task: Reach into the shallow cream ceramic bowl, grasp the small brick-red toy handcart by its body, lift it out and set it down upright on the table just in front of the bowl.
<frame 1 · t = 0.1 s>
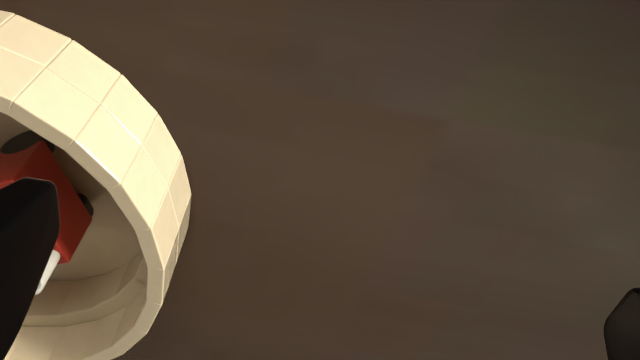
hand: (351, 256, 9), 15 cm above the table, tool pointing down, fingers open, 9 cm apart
bowl: (17, 170, 27), on the table
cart: (11, 177, 26), point 1 cm above the table, touching bowl
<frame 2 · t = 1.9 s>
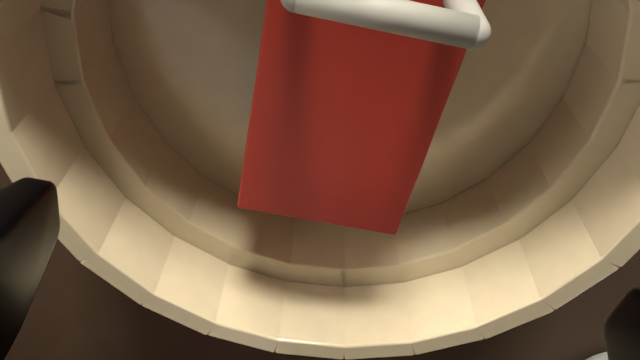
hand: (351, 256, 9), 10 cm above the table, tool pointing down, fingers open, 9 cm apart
bowl: (345, 34, 17), on the table
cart: (345, 42, 16), point 1 cm above the table, touching bowl
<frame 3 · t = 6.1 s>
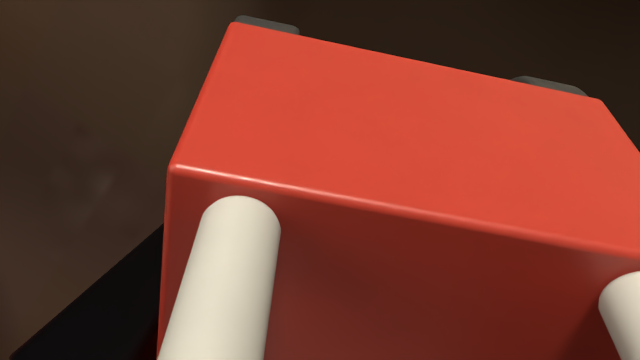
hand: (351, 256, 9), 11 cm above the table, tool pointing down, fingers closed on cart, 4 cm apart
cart: (349, 217, 9), point 10 cm above the table, touching gripper
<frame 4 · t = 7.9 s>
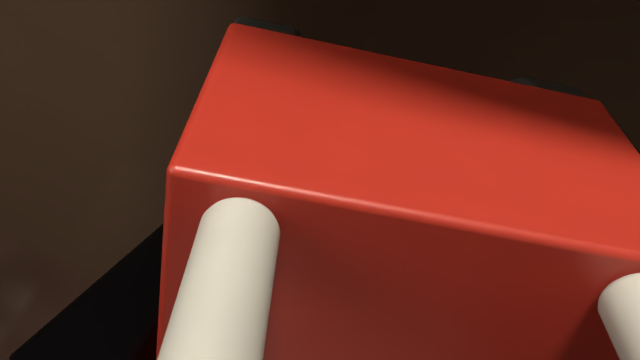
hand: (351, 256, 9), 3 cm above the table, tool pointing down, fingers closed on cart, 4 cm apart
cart: (349, 218, 9), point 3 cm above the table, touching gripper
when the fingers open (1 cm above the table, at t = 9.0 s): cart stays where it is, on the table.
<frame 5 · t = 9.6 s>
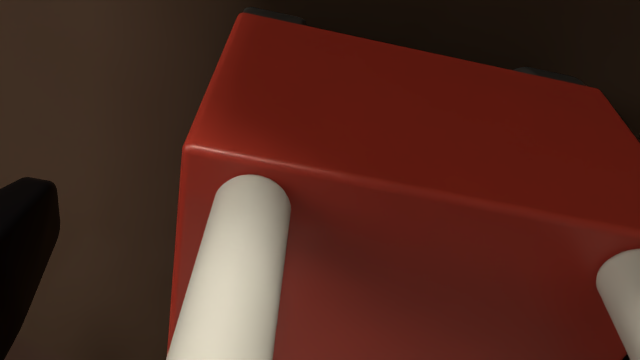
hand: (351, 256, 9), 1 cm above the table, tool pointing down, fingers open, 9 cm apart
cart: (353, 207, 10), on the table
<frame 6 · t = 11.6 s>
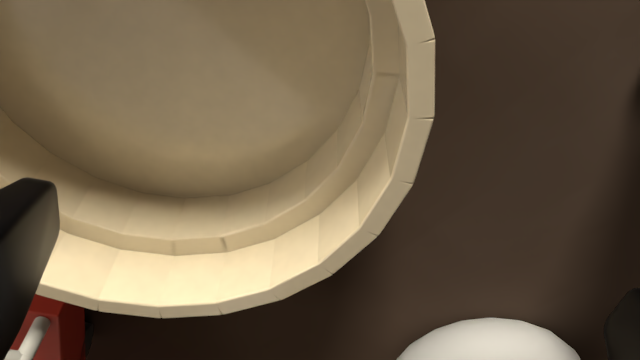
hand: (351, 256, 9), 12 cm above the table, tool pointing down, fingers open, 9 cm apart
bowl: (164, 27, 19), on the table
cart: (46, 288, 27), on the table
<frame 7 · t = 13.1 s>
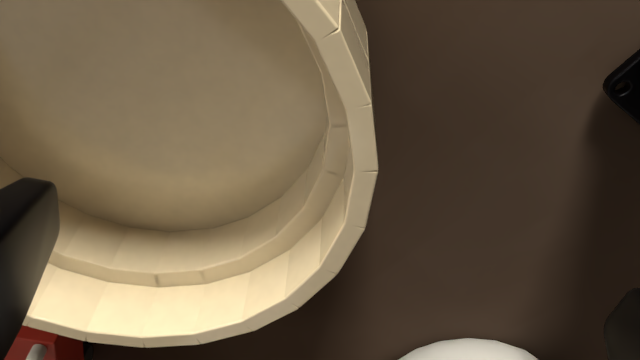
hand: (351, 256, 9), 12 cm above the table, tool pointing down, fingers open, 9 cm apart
bowl: (142, 79, 21), on the table
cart: (47, 313, 29), on the table
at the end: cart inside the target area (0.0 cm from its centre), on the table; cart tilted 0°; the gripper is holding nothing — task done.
